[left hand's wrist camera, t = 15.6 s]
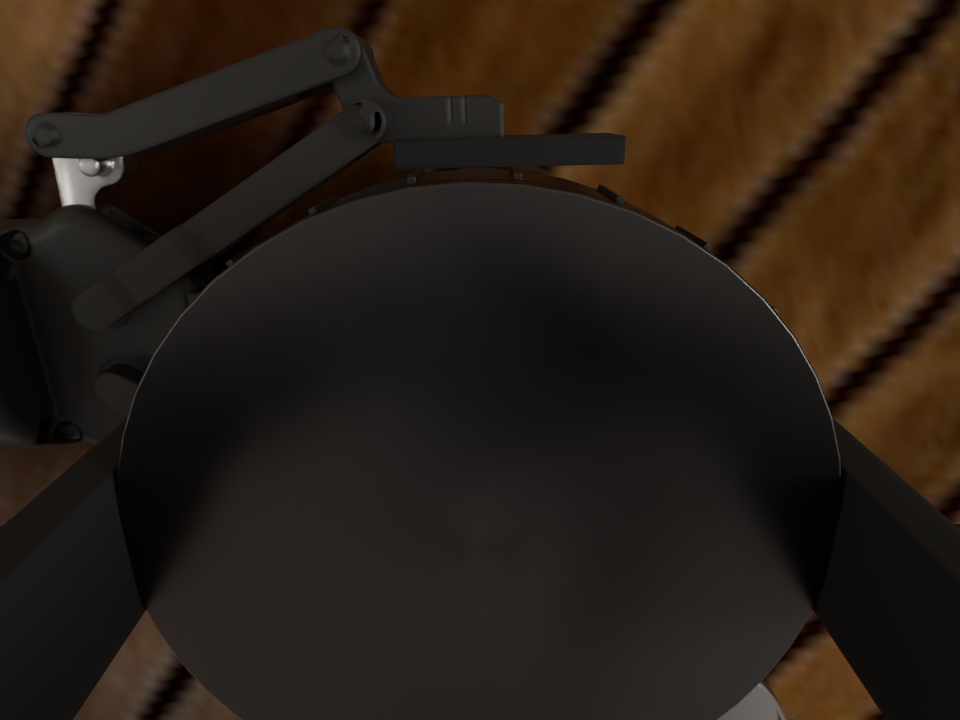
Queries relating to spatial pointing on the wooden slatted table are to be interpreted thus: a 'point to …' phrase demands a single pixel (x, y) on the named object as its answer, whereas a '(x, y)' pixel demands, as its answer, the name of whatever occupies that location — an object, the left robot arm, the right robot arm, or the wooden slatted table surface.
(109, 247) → the right robot arm
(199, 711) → the wooden slatted table surface
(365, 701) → the lid
